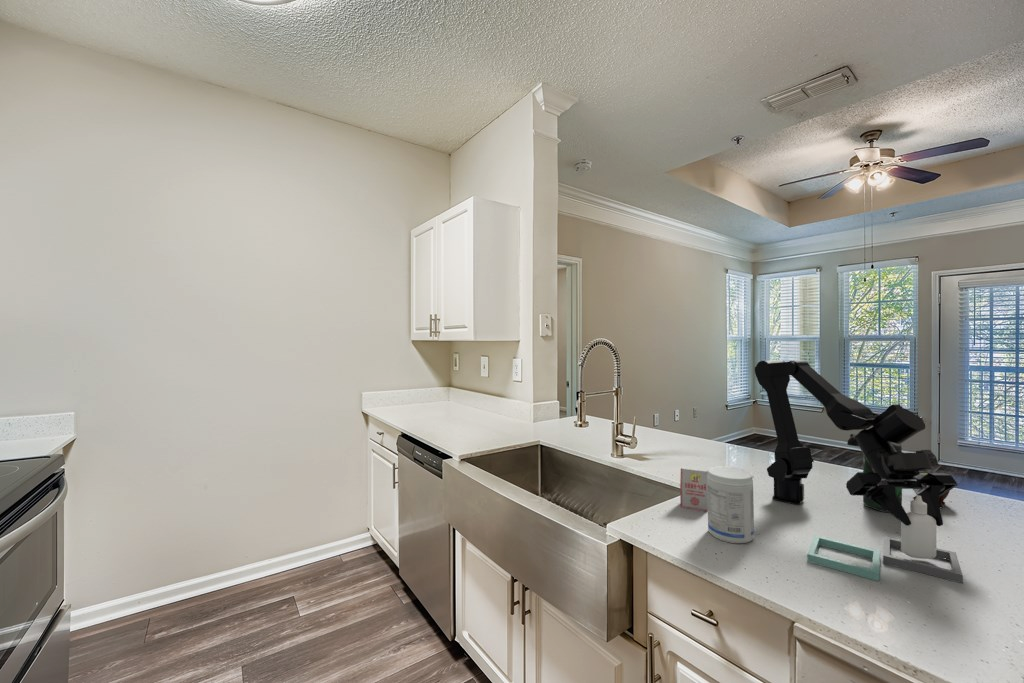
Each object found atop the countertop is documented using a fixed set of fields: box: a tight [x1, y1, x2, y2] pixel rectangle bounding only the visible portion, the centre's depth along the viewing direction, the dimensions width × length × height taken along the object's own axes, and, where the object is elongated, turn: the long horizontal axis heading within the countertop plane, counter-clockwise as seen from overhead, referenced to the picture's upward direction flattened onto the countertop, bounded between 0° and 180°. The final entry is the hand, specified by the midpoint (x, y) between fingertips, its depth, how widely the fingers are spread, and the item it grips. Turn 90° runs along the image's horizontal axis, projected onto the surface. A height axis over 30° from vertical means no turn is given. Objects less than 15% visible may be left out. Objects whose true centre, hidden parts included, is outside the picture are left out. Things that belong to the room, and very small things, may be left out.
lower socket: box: [806, 534, 881, 582], centre depth 87 cm, size 11×11×2 cm
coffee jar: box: [862, 442, 903, 513], centre depth 114 cm, size 10×8×19 cm
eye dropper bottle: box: [900, 494, 938, 560], centre depth 86 cm, size 4×6×12 cm
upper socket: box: [882, 535, 964, 584], centre depth 86 cm, size 11×11×2 cm
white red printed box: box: [679, 468, 708, 512], centre depth 115 cm, size 4×7×10 cm, turn 63°
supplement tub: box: [707, 465, 755, 544], centre depth 98 cm, size 10×10×15 cm
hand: (924, 525), depth 84 cm, fingers closed on eye dropper bottle, 6 cm apart
